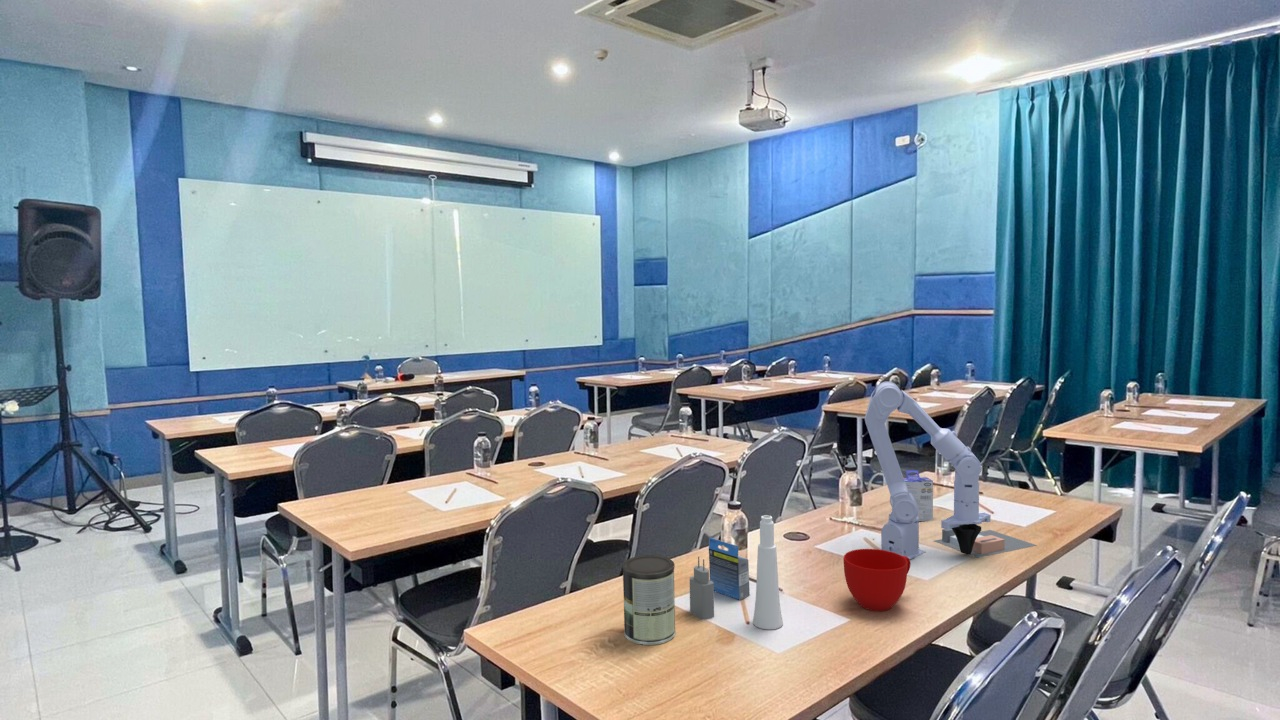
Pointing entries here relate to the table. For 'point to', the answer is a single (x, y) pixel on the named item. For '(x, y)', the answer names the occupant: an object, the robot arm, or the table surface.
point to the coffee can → (649, 599)
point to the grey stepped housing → (951, 536)
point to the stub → (988, 544)
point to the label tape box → (728, 570)
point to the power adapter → (701, 593)
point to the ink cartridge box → (921, 494)
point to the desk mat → (1010, 545)
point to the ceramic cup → (876, 577)
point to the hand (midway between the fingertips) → (965, 553)
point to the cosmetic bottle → (767, 580)
